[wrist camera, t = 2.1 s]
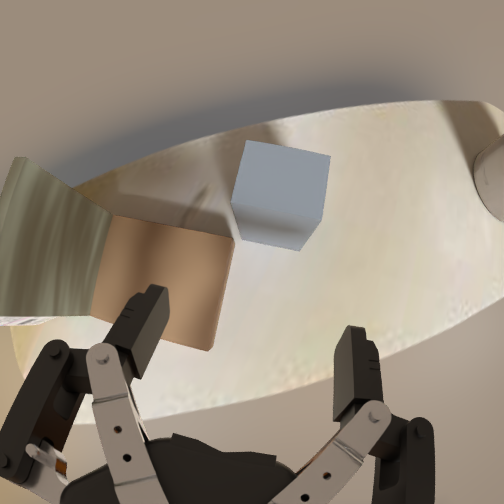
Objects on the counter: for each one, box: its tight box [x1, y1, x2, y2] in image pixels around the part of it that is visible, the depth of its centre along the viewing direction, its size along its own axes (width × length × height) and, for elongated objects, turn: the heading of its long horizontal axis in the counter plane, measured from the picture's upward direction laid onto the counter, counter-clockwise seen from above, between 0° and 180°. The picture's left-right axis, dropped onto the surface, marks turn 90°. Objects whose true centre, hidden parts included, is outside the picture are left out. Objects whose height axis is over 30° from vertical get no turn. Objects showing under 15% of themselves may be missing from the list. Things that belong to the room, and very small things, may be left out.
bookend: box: [0, 157, 235, 351], centre depth 19 cm, size 12×9×14 cm
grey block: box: [231, 140, 331, 251], centre depth 21 cm, size 5×4×10 cm
